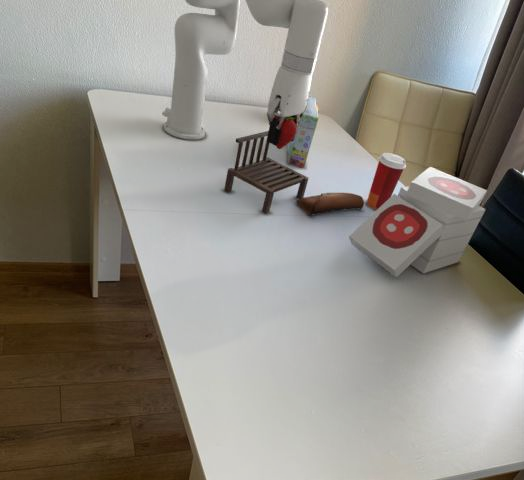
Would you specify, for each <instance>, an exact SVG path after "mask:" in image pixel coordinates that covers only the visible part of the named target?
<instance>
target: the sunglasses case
mask: <svg viewBox="0 0 524 480" xmlns="http://www.w3.org/2000/svg"><path fill="white" fill-rule="evenodd" d="M295 202H296V203H297V206H298V207H299V208H300V209H301V210H302V211H304V213H305V214H307V215H308V216H312V215H315V216H316V215H320V214H325V213H331V212H337V211H346V210H347V211H348V210H357V209H358V210H362V209H363V208H364V205H365V200H364V198H363V197H362V196H361V195H358V194H356V193H351V192H324V193H320V194H319V195H310V196H306V197H303V198H301V199H298V198H297V200H296V201H295Z"/></svg>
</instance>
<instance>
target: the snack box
mask: <svg viewBox="0 0 524 480" xmlns="http://www.w3.org/2000/svg"><path fill="white" fill-rule="evenodd" d="M309 96H310V95H309ZM309 96H308V100H307V108H306V110H305V111H304V113H303V115H302V117H301V118H300V123H299V124H298V125H297V133H296V135H295V138H294V141H292V142H291V141H290V142H289V143H288V144H287V145H288V164H289V165H292V166H295V167H299V168H305V166H306V162H307V159H308V155H309V152H310V149H311V145H312V142H313V139H314V135H315V132H316V128H317V125H318V121H319V112H318V111H317V106H316V102H317V100H316V98H315V97H312V96H310V97H309ZM317 112H318V113H317Z"/></svg>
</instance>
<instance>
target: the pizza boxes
mask: <svg viewBox="0 0 524 480" xmlns="http://www.w3.org/2000/svg"><path fill="white" fill-rule="evenodd" d="M487 192H488V189H484V188H482V187H480V186H477V185H475V184H473V183H471V182H468V181H466V180H463V179H461V178H459V177H457V176H453V175H452V174H449V173H447V172H445V171H442V170H439V169H437V168H434V167H432V166H429V167H427V168H426V169H425V170H424V171H423V172H422V173H420V174H419V175H417V176H416V177H415V178H414V179H413V180H411V182H410V183H409V185H405V186H401V187H400V188H399V191H398V194H396V193H393V194H392V196H391V197H390V198H389V199H388V200H387V201H386V202H385V203H384V204H383V205H382V206H381V207H380V208H379V209H377V210H375V211H374V212H373V213H372V214H371V215H369V217H368V218H367V219H366V220H365V221H363V222H362V223H361V224H360V225H359V226H358V227H357V228H356V229H355V230H354V231H352V233H351V234H350V235H348V238H349V241H350V244H351V245H352V246H354V247H355V248H356V249H358V251H360V252H361V253H363V254H364V255H365V256H367V257H368V258H370V259H371V260H372V261H374V262H375V263H376V264H378V265H379V266H380V267H382V268H383V269H384V270H386V271H387V272H388V273H389V274H391V275H392V276H393V277H394V278H398V277H399V275H401V274H402V273H403V272H404V271H405V270H406V269H407V268H409V266H412V267H414V268H415V269H416V270H418V271H419V272H421V273H422V274H425V273H429V272H432V271H435V270H438V269H441V268H444V267H447V266H451V265H455V264H457V263H459V261H460V260H461V257H462V256H463V254H464V252H465V250H466V248H467V246H468V244H469V243H470V240H471V239H472V237H473V235H474V233H475V232H476V229H477V227H478V225H479V223H480V221H481V219H482V217H483V216H484V214H485V212H486V208H484V207H482V206H480V205H481V203H482V201H483V200H484V198H485V196H486V194H487Z"/></svg>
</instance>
